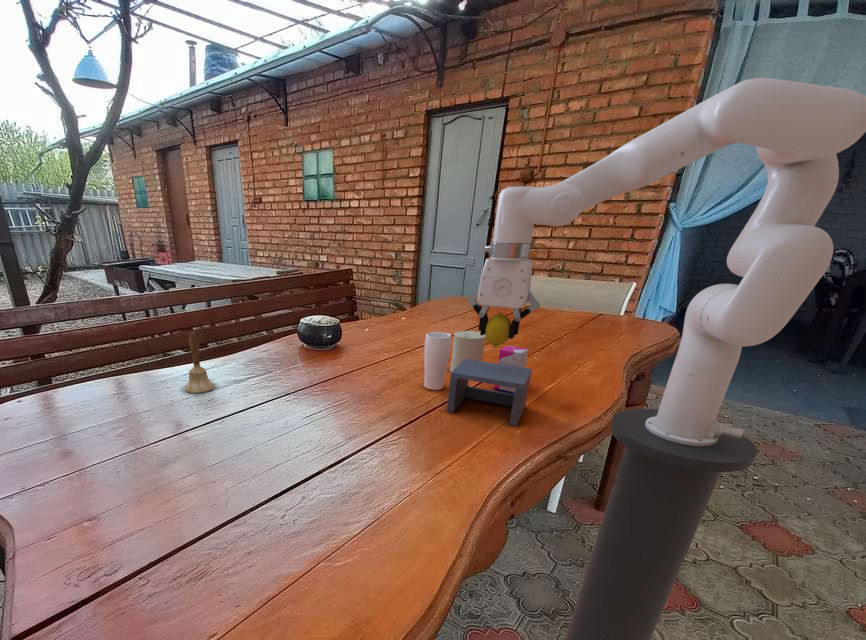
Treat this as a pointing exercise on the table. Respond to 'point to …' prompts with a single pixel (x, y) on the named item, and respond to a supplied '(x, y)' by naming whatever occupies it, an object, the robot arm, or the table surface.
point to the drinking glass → (436, 359)
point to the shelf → (491, 375)
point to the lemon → (498, 329)
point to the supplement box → (512, 362)
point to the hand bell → (197, 370)
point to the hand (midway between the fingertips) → (497, 335)
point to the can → (467, 347)
